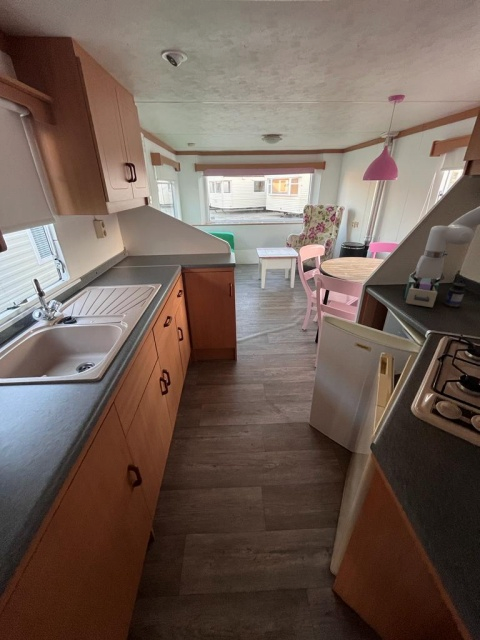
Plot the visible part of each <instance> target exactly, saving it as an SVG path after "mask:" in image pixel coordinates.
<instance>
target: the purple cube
mask: <svg viewBox="0 0 480 640" xmlns="http://www.w3.org/2000/svg"><path fill="white" fill-rule="evenodd" d="M430 288H431V284H430V282H424V281H420V287H419V289H422V290H429V291H430Z"/></svg>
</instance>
